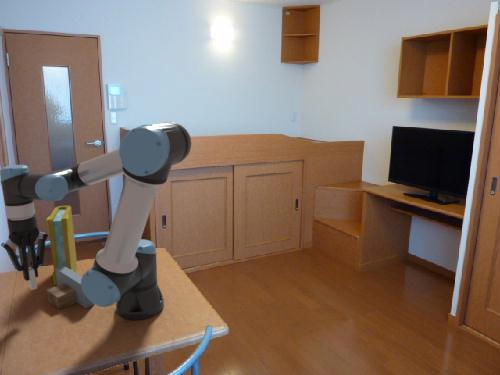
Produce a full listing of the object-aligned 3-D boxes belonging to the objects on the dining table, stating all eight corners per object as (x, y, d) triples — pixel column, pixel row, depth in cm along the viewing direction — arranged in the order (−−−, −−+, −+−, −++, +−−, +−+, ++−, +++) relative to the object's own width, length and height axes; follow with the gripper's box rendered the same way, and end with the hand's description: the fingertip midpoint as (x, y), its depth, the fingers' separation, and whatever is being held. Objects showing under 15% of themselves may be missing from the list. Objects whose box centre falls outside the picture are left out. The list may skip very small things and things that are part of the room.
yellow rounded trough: (74, 282, 149) (67, 218, 143) (54, 284, 147) (46, 219, 141) (79, 263, 165) (73, 205, 159) (61, 265, 163) (54, 206, 157)
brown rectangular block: (76, 302, 136) (75, 290, 135) (58, 309, 131) (57, 297, 130) (65, 294, 141) (64, 283, 140) (47, 301, 136) (46, 289, 135)
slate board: (94, 304, 134) (92, 282, 132) (85, 308, 132) (83, 286, 130) (65, 285, 147) (63, 265, 145) (57, 288, 144) (55, 268, 142)
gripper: (38, 209, 129) (48, 277, 134) (-8, 219, 119) (5, 292, 124) (49, 213, 124) (58, 283, 129) (2, 224, 114) (15, 299, 120)
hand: (32, 287), depth 127 cm, fingers closed
